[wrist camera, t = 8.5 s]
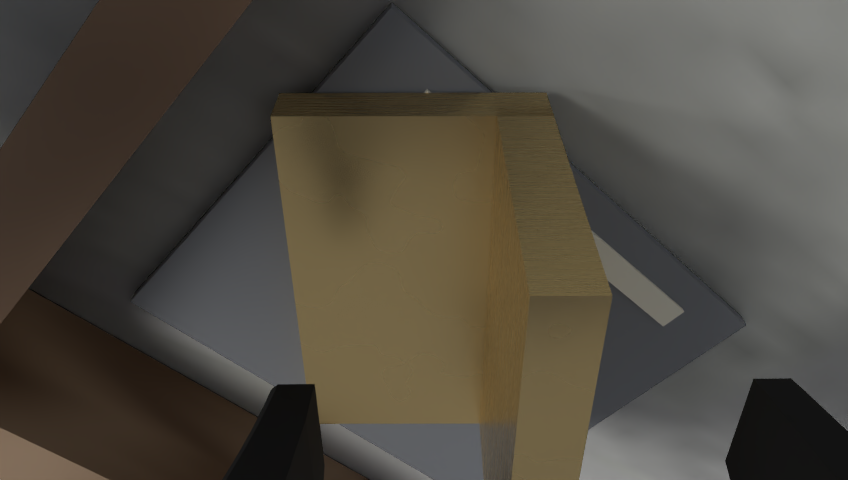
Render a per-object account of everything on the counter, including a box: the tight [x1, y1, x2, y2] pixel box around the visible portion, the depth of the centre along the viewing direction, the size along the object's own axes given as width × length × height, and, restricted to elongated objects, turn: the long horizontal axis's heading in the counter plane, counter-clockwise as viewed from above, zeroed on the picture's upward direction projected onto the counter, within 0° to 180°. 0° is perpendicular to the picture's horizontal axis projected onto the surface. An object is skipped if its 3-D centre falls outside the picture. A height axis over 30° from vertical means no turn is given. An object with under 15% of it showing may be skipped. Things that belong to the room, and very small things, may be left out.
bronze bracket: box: [270, 93, 612, 480], centre depth 14 cm, size 8×5×6 cm, turn 0°
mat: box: [131, 3, 746, 480], centre depth 17 cm, size 11×9×1 cm
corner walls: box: [0, 0, 369, 480], centre depth 15 cm, size 14×14×4 cm
